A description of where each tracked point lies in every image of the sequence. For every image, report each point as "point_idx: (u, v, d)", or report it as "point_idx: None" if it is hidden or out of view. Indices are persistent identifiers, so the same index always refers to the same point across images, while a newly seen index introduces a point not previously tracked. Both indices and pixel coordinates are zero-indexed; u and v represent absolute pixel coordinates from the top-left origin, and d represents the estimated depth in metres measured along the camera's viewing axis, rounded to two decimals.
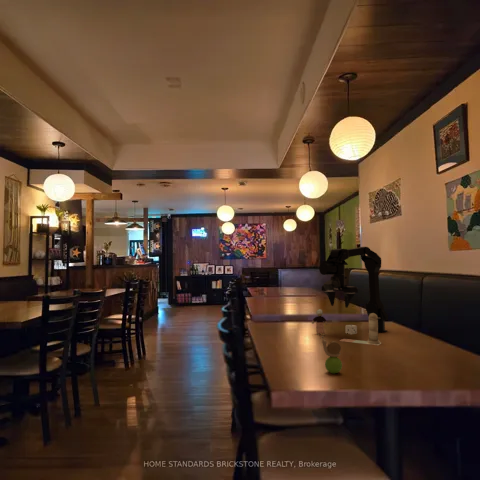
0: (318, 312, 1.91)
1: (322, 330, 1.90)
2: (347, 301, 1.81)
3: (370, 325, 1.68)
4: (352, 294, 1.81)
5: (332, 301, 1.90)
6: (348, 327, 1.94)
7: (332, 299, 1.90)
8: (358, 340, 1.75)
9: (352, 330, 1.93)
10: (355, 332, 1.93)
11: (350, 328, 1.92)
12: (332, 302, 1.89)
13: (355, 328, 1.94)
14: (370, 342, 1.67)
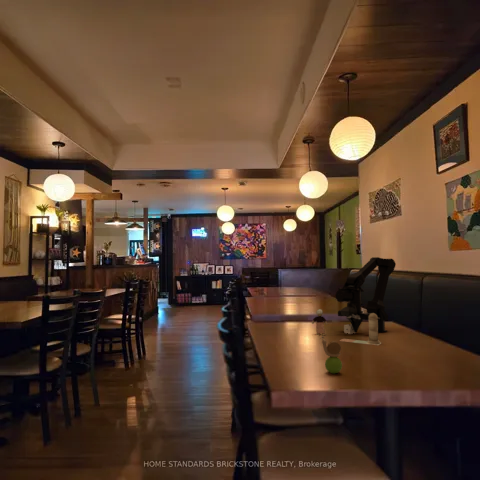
0: (318, 312, 1.91)
1: (322, 330, 1.90)
2: (356, 326, 1.91)
3: (370, 325, 1.68)
4: None
5: None
6: (347, 326, 1.95)
7: None
8: (358, 340, 1.75)
9: (351, 329, 1.93)
10: None
11: (349, 328, 1.93)
12: None
13: None
14: (370, 342, 1.67)
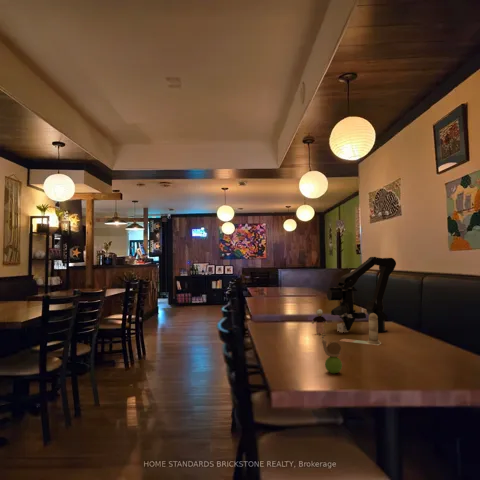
0: (318, 312, 1.91)
1: (322, 330, 1.90)
2: (349, 325, 1.95)
3: (370, 325, 1.68)
4: None
5: None
6: (340, 325, 1.99)
7: None
8: (358, 340, 1.75)
9: (344, 328, 1.98)
10: (346, 330, 1.98)
11: (342, 326, 1.97)
12: None
13: None
14: (370, 342, 1.67)
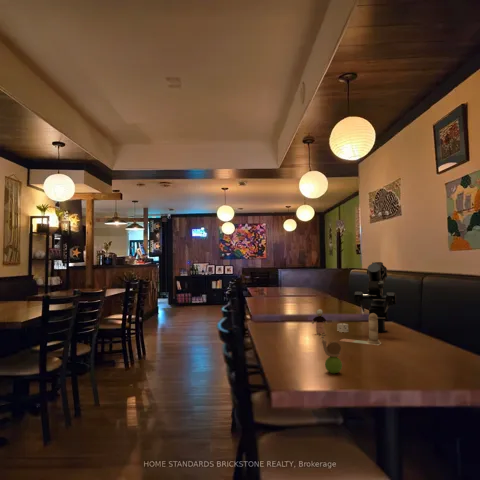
0: (318, 312, 1.91)
1: (322, 330, 1.90)
2: (387, 306, 1.76)
3: (370, 325, 1.68)
4: (389, 304, 1.79)
5: None
6: (340, 325, 1.99)
7: (363, 306, 1.80)
8: (358, 340, 1.75)
9: (344, 328, 1.98)
10: (346, 330, 1.98)
11: (342, 327, 1.97)
12: None
13: (346, 326, 1.99)
14: (370, 342, 1.67)
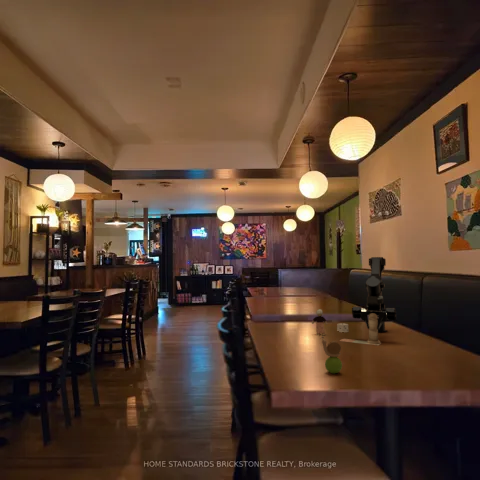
0: (318, 312, 1.91)
1: (322, 330, 1.90)
2: (380, 322, 1.68)
3: (370, 325, 1.68)
4: (383, 320, 1.72)
5: (368, 324, 1.70)
6: (340, 325, 1.99)
7: None
8: (358, 340, 1.75)
9: (344, 328, 1.98)
10: (346, 330, 1.98)
11: (342, 327, 1.97)
12: (368, 325, 1.69)
13: (346, 326, 1.99)
14: (370, 342, 1.67)
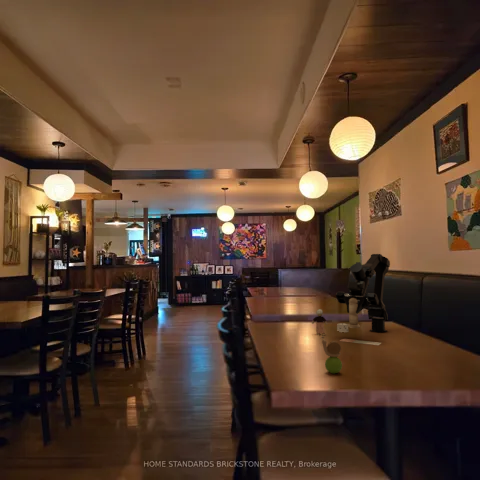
0: (318, 312, 1.91)
1: (322, 330, 1.90)
2: (360, 307, 1.72)
3: (349, 309, 1.73)
4: (365, 305, 1.75)
5: None
6: (340, 325, 1.99)
7: None
8: (358, 340, 1.75)
9: (344, 328, 1.98)
10: (346, 330, 1.98)
11: (342, 327, 1.97)
12: None
13: (346, 326, 1.99)
14: (349, 325, 1.72)
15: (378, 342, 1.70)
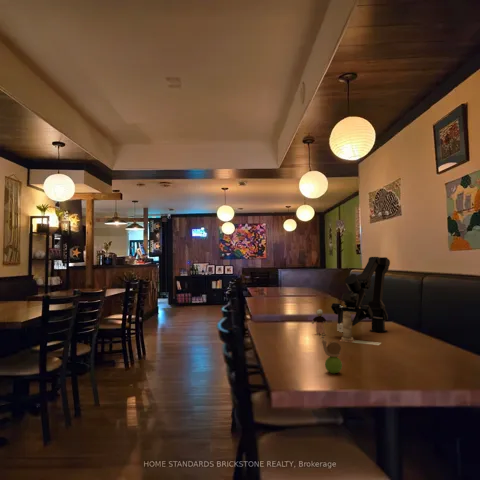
0: (318, 312, 1.91)
1: (322, 330, 1.90)
2: (356, 319, 1.73)
3: (343, 323, 1.75)
4: (362, 317, 1.75)
5: (340, 320, 1.78)
6: (340, 325, 1.99)
7: (341, 318, 1.78)
8: (358, 340, 1.75)
9: None
10: None
11: (342, 327, 1.97)
12: (340, 320, 1.77)
13: None
14: (342, 339, 1.74)
15: (378, 342, 1.70)
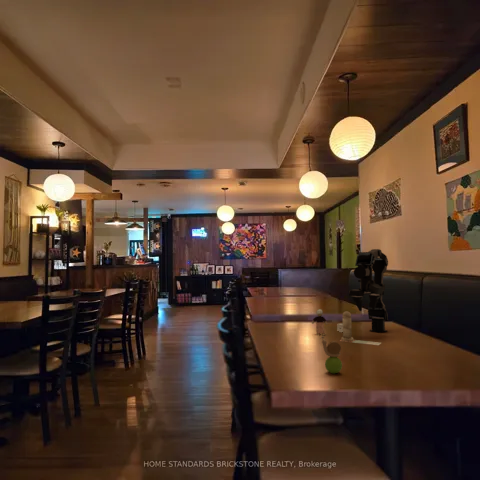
0: (318, 312, 1.91)
1: (322, 330, 1.90)
2: None
3: (343, 323, 1.75)
4: None
5: None
6: (340, 325, 1.99)
7: None
8: (358, 340, 1.75)
9: None
10: None
11: (342, 327, 1.97)
12: None
13: None
14: (342, 339, 1.74)
15: (378, 342, 1.70)
